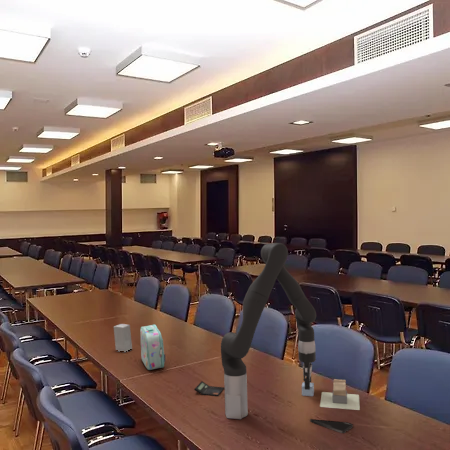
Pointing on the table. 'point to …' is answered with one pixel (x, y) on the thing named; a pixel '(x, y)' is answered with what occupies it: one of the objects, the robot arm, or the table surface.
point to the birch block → (339, 387)
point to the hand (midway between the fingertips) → (308, 385)
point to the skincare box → (122, 337)
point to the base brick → (339, 398)
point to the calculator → (208, 389)
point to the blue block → (308, 392)
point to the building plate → (351, 403)
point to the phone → (333, 425)
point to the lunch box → (152, 347)
